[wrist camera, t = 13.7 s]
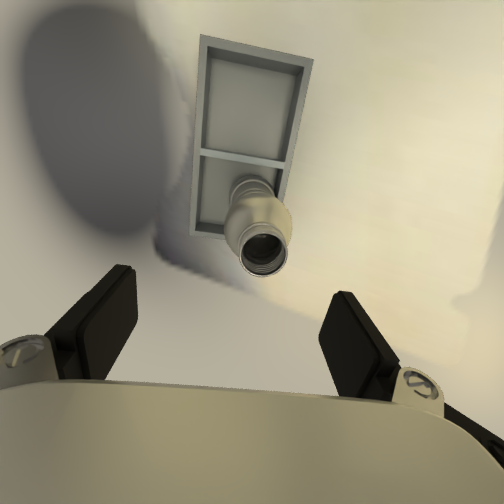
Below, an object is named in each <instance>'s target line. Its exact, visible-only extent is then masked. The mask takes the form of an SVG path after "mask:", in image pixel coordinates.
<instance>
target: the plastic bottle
mask: <svg viewBox="0 0 504 504" xmlns="http://www.w3.org/2000/svg"><path fill="white" fill-rule="evenodd" d="M229 206H230V209H229V211H228V213H227V216H226V218H225V222H224V234H225V238H226V241H227V243H228V245H229V247H230V248H231V250H232V251H233V252H234V253H235V254H236V255H237V256H238V257H239V260H240V263H241V265H242V267H243V268H244V269H245V270H246V271H247V272H248V273H249V274H251V275H253V276H257V277H268V276H272V275H274V274H276V273H277V272H279V271H280V270H281V269H282V268H283V266H284V265H285V263H286V260H287V256H288V251H287V246H288V244H289V241H290V239H291V234H292V219H291V215H290V213H289V211H288V209H287V208H286V207H285V205H284V204H283V203H282V202H281V201H280V200H278V199H277V198H276V197H275V193H274V190H273V188H272V186H271V185H270V183H269V182H268V181H267V180H265V179H264V178H262V177H259V176H255V175H250V176H245V177H243V178H241V179H239V180H238V181H237V182H236V183H235V184H234V185H233V187H232V188H231V191H230V194H229Z"/></svg>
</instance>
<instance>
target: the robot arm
mask: <svg viewBox="0 0 504 504" xmlns="http://www.w3.org/2000/svg"><path fill="white" fill-rule="evenodd" d="M137 320H138V305H137V286H136V272H135V270H134V269H132V267H131V266H127V265H119V264H116V265H115V266H114V267H113V268H112V269H111V270H110V271H109V272H108V273H107V274H106V275H105V276H104V277H103V278H102V279H101V280H100V281H99V282H98V283H97V284H96V285H95V286H94V287H93V288H92V289H91V290H90V291H89V292H87V293H86V294H84V295H83V297H81V299H80V300H79V301H77V303H76V304H74V306H73V307H71V308H70V309H69V310H68V312H67V313H66V314H65V315H64V316H63V317H61V319H59V321H57V323H55V325H54V326H52V328H50V330H49V331H47V332H46V333H45V334H44V336H43V335H37V334H36V335H26V336H22V337H18V338H15V339H12V340H10V341H8V342H6V343H4V344H2V345H1V346H0V504H504V441H503V440H502V439H501V438H499V437H498V436H496V435H495V434H493V433H491V432H490V431H488V430H487V429H485V428H484V427H482V426H480V425H479V424H477V423H476V422H474V421H473V420H471V419H469V418H468V417H466V416H465V415H463V414H461V413H460V412H459V411H457V410H455V409H454V408H452V407H451V406H449V405H447V404H446V403H444V395H443V392H442V390H441V389H440V387H439V386H438V385H437V383H436V382H435V381H434V380H432V379H431V378H430V377H429V376H428V375H426V374H425V373H423V372H421V371H419V370H417V369H414V368H410V367H404V368H401V367H400V365H399V364H398V363H399V361H400V360H399V359H398V357H397V356H396V354H395V353H394V351H393V350H392V349H391V347H390V346H389V344H388V343H387V342H386V340H385V339H384V337H383V336H382V334H381V333H380V332H379V330H378V329H377V327H376V326H375V324H374V323H373V322H372V320H371V319H370V317H369V316H368V314H367V313H366V312H365V310H364V309H363V307H362V306H361V305H360V303H359V302H358V300H357V299H356V297H355V296H354V295H353V293H352V292H346V291H338V292H337V293H335V294H334V295H333V298H332V300H331V303H330V306H329V308H328V311H327V314H326V317H325V319H324V322H323V325H322V327H321V330H320V333H319V343H320V346H321V349H322V351H323V354H324V357H325V359H326V362H327V365H328V367H329V370H330V373H331V375H332V378H333V381H334V384H335V386H336V389H337V392H338V394H339V396H328V395H315V394H302V393H290V392H278V391H264V390H249V389H236V388H223V387H208V386H194V385H179V384H162V383H149V382H132V381H111V380H105V379H106V377H107V375H108V373H109V371H110V370H111V368H112V366H113V364H114V363H115V361H116V359H117V357H118V355H119V354H120V352H121V350H122V348H123V347H124V345H125V343H126V341H127V339H128V338H129V336H130V334H131V332H132V330H133V329H134V327H135V325H136V323H137Z"/></svg>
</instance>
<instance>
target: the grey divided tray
mask: <svg viewBox="0 0 504 504" xmlns="http://www.w3.org/2000/svg"><path fill="white" fill-rule="evenodd" d="M313 60H314V59H310V58H305V57H301V56H296V55H292V54H287V53H283V52H278V51H274V50H269V49H265V48H260V47H256V46H251V45H247V44H242V43H238V42H233V41H229V40H224V39H220V38H215V37H211V36H206V35H202V34H200V45H199V63H198V81H197V99H196V117H195V134H194V152H193V170H192V188H191V206H190V224H189V235H190V236H197V237H205V238H212V239H220V240H226V238H225V234H224V222H225V218H226V216H227V213H228V211H229V209H230V206H229V194H230V191H231V188H232V187H233V185H234V184H235V183H236V182H237V181H238V180H239V179H241V178H243V177H245V176H250V175H255V176H259V177H262V178H264V179H265V180H267V181H268V182H269V183H270V185H271V186H272V188H273V190H274V193H275V197H276V198H277V199H278V200H280V201H281V202H282V203H283V199H284V195H285V190H286V185H287V181H288V176H289V171H290V167H291V162H292V158H293V153H294V148H295V144H296V139H297V134H298V130H299V125H300V121H301V116H302V111H303V107H304V102H305V97H306V93H307V88H308V84H309V79H310V74H311V70H312V65H313Z"/></svg>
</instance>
